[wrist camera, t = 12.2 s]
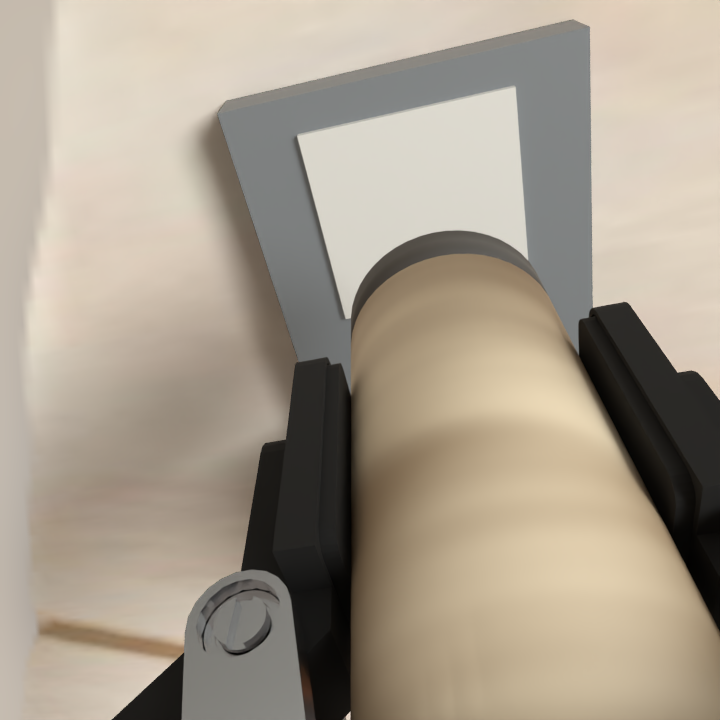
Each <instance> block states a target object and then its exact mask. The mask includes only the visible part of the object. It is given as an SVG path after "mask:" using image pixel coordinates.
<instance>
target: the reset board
mask: <svg viewBox="0 0 720 720" xmlns="http://www.w3.org/2000/svg"><path fill="white" fill-rule="evenodd" d="M217 115H218V118H219V121H220V124H221V127H222V130H223V133H224V136H225V139H226V142H227V145H228V148H229V151H230V154H231V157H232V160H233V163H234V166H235V169H236V173H237V176H238V179H239V182H240V185H241V188H242V191H243V194H244V197H245V200H246V203H247V206H248V209H249V212H250V215H251V218H252V221H253V224H254V227H255V230H256V233H257V236H258V239H259V243H260V246H261V249H262V252H263V255H264V258H265V261H266V264H267V267H268V270H269V273H270V276H271V279H272V282H273V285H274V288H275V291H276V294H277V297H278V300H279V303H280V306H281V309H282V313H283V316H284V319H285V322H286V325H287V328H288V331H289V334H290V337H291V340H292V343H293V346H294V349H295V352H296V355H297V358H298V361H299V362H302V361H308V360H313V359H319V358H324V357H327V358H328V359H329V361H330V363H331V365H332V364H337V363H341V364H342V367H343V370H344V373H345V377H346V380H347V384H348V387H349V391H350V394H351V313H352V305H353V302H354V298H355V295H356V293H357V290H358V288H359V286H360V284H361V282H362V281H363V279H364V278H365V276H366V274H367V273H368V272H369V271H370V269H371V268H372V267H373V266H374V265H375V264H376V263H377V262H378V261H379V260H380V259H381V258H382V257H383V256H384V255H386V254H387V253H389V252H390V251H391V250H393V249H394V248H396V247H398V246H399V245H401V244H403V243H405V242H407V241H409V240H412V239H414V238H417V237H419V236H423V235H426V234H430V233H434V232H441V231H455V230H462V231H472V232H478V233H482V234H486V235H489V236H492V237H495V238H497V239H500V240H502V241H503V242H505V243H507V244H509V245H511V246H512V247H513V248H515V249H516V250H517V251H519V252H520V253H521V254H522V255H523V256H524V257H525V258H526V259H527V260H528V261H529V262H530V264H531V265H532V267H533V268H534V269H535V271H536V273H537V275H538V277H539V279H540V281H541V282H542V284H543V286H544V288H545V290H546V292H547V294H548V296H549V298H550V300H551V302H552V304H553V306H554V308H555V310H556V312H557V314H558V316H559V318H560V320H561V322H562V324H563V326H564V328H565V329H566V331H567V333H568V335H569V337H570V339H571V341H572V343H573V345H574V347H575V349H576V351H577V353H578V355H579V339H578V323H579V320H580V319H583V318H589V312H590V309H591V308H593V301H592V203H591V106H590V27H589V26H587V25H584V24H582V23H580V22H578V21H575V20H569V21H565V22H560V23H556V24H552V25H548V26H543V27H539V28H535V29H530V30H526V31H522V32H518V33H513V34H509V35H505V36H501V37H496V38H492V39H488V40H484V41H479V42H475V43H471V44H467V45H462V46H458V47H454V48H450V49H445V50H441V51H437V52H433V53H428V54H424V55H420V56H416V57H411V58H407V59H403V60H399V61H394V62H390V63H386V64H382V65H377V66H373V67H369V68H365V69H360V70H356V71H352V72H347V73H343V74H339V75H335V76H330V77H326V78H322V79H318V80H313V81H309V82H305V83H301V84H296V85H292V86H288V87H284V88H279V89H275V90H271V91H267V92H262V93H258V94H254V95H250V96H245V97H241V98H237V99H233V100H228V101H226V102H225V103H224V105H223V106H222V108H221V109H220V110H219V112H218V113H217Z"/></svg>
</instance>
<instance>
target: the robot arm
mask: <svg viewBox="0 0 720 720" xmlns="http://www.w3.org/2000/svg"><path fill="white" fill-rule="evenodd" d="M578 339H579V357H580V359H581V361H582V363H583V365H584V367H585V369H586V371H587V373H588V375H589V376H590V378H591V380H592V382H593V384H594V386H595V388H596V390H597V392H598V394H599V396H600V398H601V400H602V402H603V404H604V406H605V408H606V410H607V412H608V414H609V416H610V418H611V420H612V422H613V424H614V425H615V427H616V429H617V431H618V433H619V435H620V437H621V439H622V441H623V443H624V445H625V447H626V449H627V451H628V453H629V455H630V457H631V459H632V461H633V463H634V465H635V467H636V469H637V471H638V472H639V474H640V476H641V478H642V480H643V482H644V484H645V486H646V488H647V490H648V492H649V494H650V496H651V498H652V500H653V502H654V504H655V506H656V508H657V510H658V512H659V514H660V516H661V518H662V519H663V521H664V523H665V525H666V527H667V529H668V531H669V533H670V535H671V537H672V539H673V541H674V543H675V545H676V547H677V549H678V551H679V553H680V555H681V557H682V559H683V561H684V563H685V565H686V567H687V568H688V570H689V572H690V574H691V576H692V578H693V580H694V582H695V584H696V586H697V588H698V590H699V592H700V594H701V596H702V598H703V600H704V602H705V604H706V606H707V608H708V610H709V612H710V614H711V615H712V617H713V619H714V621H715V623H716V625H717V627H718V629H719V631H720V400H719V399H718V398H717V396H716V395H715V394H714V392H713V391H712V390H711V388H710V387H709V386H708V384H707V383H706V382H705V380H704V379H703V378H702V377H701V376H700V375H699V374H698V373H697V372H694V371H686V372H680V373H677V371H676V370H675V369H674V367H673V366H672V364H671V363H670V361H669V360H668V359H667V357H666V356H665V354H664V353H663V352H662V350H661V349H660V347H659V346H658V344H657V343H656V342H655V340H654V339H653V337H652V336H651V335H650V333H649V332H648V330H647V329H646V327H645V326H644V325H643V323H642V322H641V320H640V319H639V317H638V316H637V315H636V313H635V312H634V310H633V309H632V308H631V306H630V305H629V304H628V303H627V302H622V303H617V304H611V305H606V306H601V307H595V308H591V309H590V312H589V318H583V319H580V320H579V323H578ZM350 711H351V394H350V391H349V387H348V384H347V380H346V377H345V373H344V370H343V367H342V364H341V363H337V364H332V365H331V363H330V361H329V359H328V358H327V357H324V358H319V359H313V360H308V361H302V362H297V363H296V365H295V371H294V379H293V387H292V395H291V403H290V412H289V420H288V428H287V436H286V440H281V441H276V442H270V443H265V444H264V445H263V447H262V450H261V454H260V460H259V467H258V473H257V479H256V485H255V491H254V497H253V503H252V509H251V515H250V521H249V527H248V533H247V539H246V545H245V551H244V557H243V563H242V569H241V572H236V573H234V574H231V575H229V576H227V577H224V578H222V579H220V580H219V581H218V582H216V583H215V584H214V585H212V586H211V587H210V588H208V589H207V590H206V591H205V592H204V594H203V595H202V596H201V597H200V598H199V599H198V600H197V602H196V603H195V605H194V607H193V609H192V611H191V613H190V615H189V617H188V620H187V625H186V630H185V645H184V653H183V654H182V655H181V656H180V657H179V658H178V659H177V660H176V661H175V662H173V663H172V664H171V665H170V666H169V667H168V668H167V669H166V670H165V671H164V672H163V673H162V674H161V675H159V676H158V677H157V678H156V679H155V680H154V681H153V682H152V683H151V684H150V685H149V686H148V687H147V688H145V689H144V690H143V691H142V692H141V693H140V694H139V695H138V696H137V697H136V698H135V699H134V700H133V701H131V702H130V703H129V704H128V705H127V706H126V707H125V708H124V709H123V710H122V711H121V712H120V713H119V714H117V715H116V716H115V717H114V718H113V719H112V720H346V715H347V714H348V713H349V712H350Z"/></svg>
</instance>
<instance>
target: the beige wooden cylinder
mask: <svg viewBox="0 0 720 720" xmlns="http://www.w3.org/2000/svg"><path fill="white" fill-rule="evenodd" d="M351 720H720V631H719V629H718V627H717V625H716V623H715V621H714V619H713V617H712V615H711V614H710V612H709V610H708V608H707V606H706V604H705V602H704V600H703V598H702V596H701V594H700V592H699V590H698V588H697V586H696V584H695V582H694V580H693V578H692V576H691V574H690V572H689V570H688V568H687V567H686V565H685V563H684V561H683V559H682V557H681V555H680V553H679V551H678V549H677V547H676V545H675V543H674V541H673V539H672V537H671V535H670V533H669V531H668V529H667V527H666V525H665V523H664V521H663V519H662V518H661V516H660V514H659V512H658V510H657V508H656V506H655V504H654V502H653V500H652V498H651V496H650V494H649V492H648V490H647V488H646V486H645V484H644V482H643V480H642V478H641V476H640V474H639V472H638V471H637V469H636V467H635V465H634V463H633V461H632V459H631V457H630V455H629V453H628V451H627V449H626V447H625V445H624V443H623V441H622V439H621V437H620V435H619V433H618V431H617V429H616V427H615V425H614V424H613V422H612V420H611V418H610V416H609V414H608V412H607V410H606V408H605V406H604V404H603V402H602V400H601V398H600V396H599V394H598V392H597V390H596V388H595V386H594V384H593V382H592V380H591V378H590V376H589V375H588V373H587V371H586V369H585V367H584V365H583V363H582V361H581V359H580V357H579V355H578V353H577V351H576V349H575V347H574V345H573V343H572V341H571V339H570V337H569V335H568V333H567V331H566V329H565V328H564V326H563V324H562V322H561V320H560V318H559V316H558V314H557V312H556V310H555V308H554V306H553V304H552V302H551V300H550V298H549V296H548V294H547V292H546V290H545V288H544V286H543V284H542V282H541V281H540V279H539V277H538V275H537V273H536V271H535V269H534V268H533V267H532V265H531V264H530V262H529V261H528V260H527V259H526V258H525V257H524V256H523V255H522V254H521V253H520V252H519V251H517V250H516V249H515V248H513V247H512V246H511V245H509V244H507V243H505V242H503V241H502V240H500V239H497V238H495V237H492V236H489V235H486V234H482V233H478V232H472V231H462V230H455V231H441V232H434V233H430V234H426V235H423V236H419V237H417V238H414V239H412V240H409V241H407V242H405V243H403V244H401V245H399V246H398V247H396V248H394V249H393V250H391V251H390V252H389V253H387V254H386V255H384V256H383V257H382V258H381V259H380V260H379V261H378V262H377V263H376V264H375V265H374V266H373V267H372V268H371V269H370V271H369V272H368V273H367V274H366V276H365V278H364V279H363V281H362V282H361V284H360V286H359V288H358V290H357V293H356V295H355V298H354V302H353V305H352V313H351Z"/></svg>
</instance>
